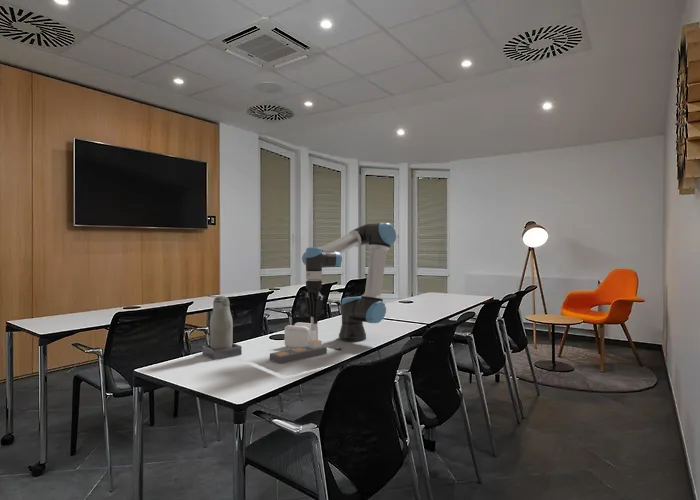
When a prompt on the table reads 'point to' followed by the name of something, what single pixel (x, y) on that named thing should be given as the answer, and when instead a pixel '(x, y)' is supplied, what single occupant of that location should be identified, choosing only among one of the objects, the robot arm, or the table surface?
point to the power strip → (298, 354)
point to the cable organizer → (299, 334)
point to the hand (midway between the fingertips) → (314, 330)
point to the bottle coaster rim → (221, 352)
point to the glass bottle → (221, 324)
